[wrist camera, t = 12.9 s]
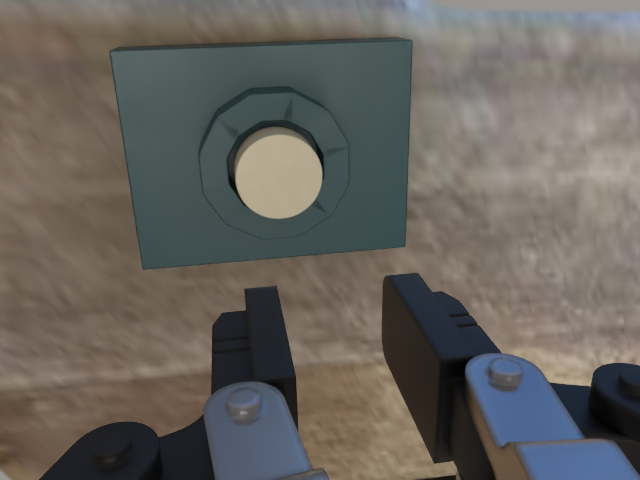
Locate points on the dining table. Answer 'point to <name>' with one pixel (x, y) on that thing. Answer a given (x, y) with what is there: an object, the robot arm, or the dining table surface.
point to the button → (277, 172)
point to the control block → (250, 116)
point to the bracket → (444, 478)
